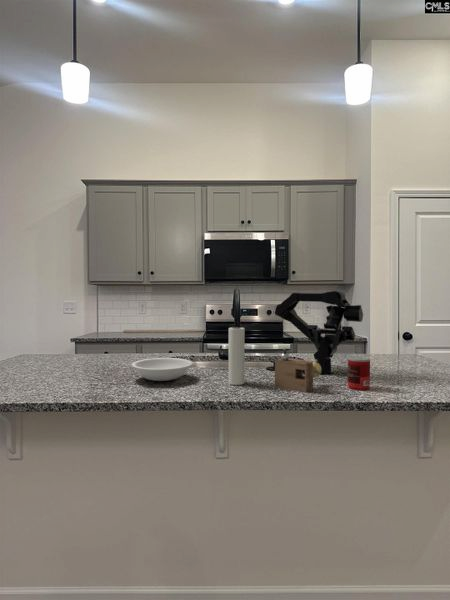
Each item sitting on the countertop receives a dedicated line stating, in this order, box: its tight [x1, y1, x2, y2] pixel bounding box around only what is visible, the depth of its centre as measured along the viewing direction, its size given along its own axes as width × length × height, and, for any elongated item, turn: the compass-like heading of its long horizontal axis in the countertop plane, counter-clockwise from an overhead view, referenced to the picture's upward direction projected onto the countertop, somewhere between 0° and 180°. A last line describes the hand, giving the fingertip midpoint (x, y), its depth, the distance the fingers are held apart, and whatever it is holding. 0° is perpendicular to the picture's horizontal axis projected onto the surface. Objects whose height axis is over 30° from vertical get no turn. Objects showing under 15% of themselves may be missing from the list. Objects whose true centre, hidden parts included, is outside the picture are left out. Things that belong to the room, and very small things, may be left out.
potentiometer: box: [280, 348, 290, 361], centre depth 142 cm, size 3×3×4 cm
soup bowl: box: [131, 357, 194, 382], centre depth 154 cm, size 24×24×7 cm
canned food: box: [347, 355, 371, 391], centre depth 141 cm, size 8×8×11 cm
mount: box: [274, 358, 314, 393], centre depth 141 cm, size 7×12×10 cm, turn 54°
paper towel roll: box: [228, 326, 246, 386], centre depth 147 cm, size 7×6×21 cm
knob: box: [303, 360, 322, 378], centre depth 143 cm, size 7×6×6 cm
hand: (324, 348), depth 153 cm, fingers open, 6 cm apart
